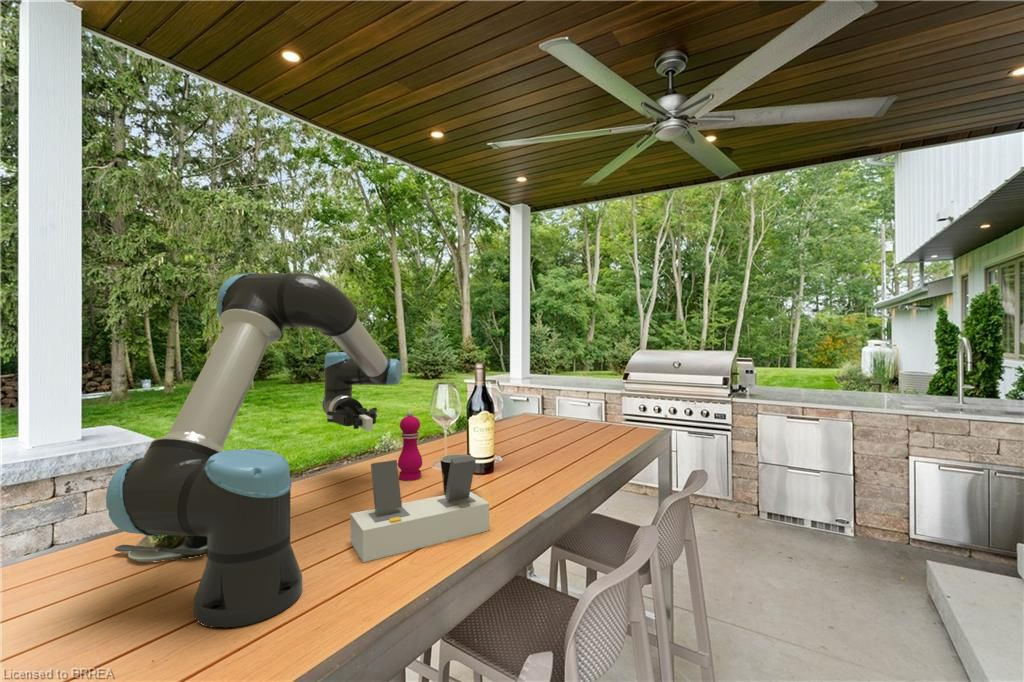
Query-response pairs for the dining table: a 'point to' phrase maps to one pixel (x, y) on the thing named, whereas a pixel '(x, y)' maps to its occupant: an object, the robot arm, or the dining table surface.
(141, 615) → the dining table surface
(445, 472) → the coffee mug
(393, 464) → the near switch
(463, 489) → the far switch
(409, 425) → the pepper mill
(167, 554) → the salad plate
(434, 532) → the switch box
